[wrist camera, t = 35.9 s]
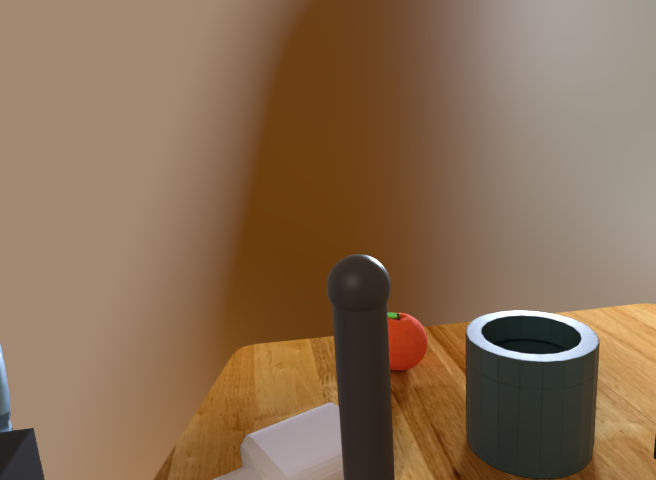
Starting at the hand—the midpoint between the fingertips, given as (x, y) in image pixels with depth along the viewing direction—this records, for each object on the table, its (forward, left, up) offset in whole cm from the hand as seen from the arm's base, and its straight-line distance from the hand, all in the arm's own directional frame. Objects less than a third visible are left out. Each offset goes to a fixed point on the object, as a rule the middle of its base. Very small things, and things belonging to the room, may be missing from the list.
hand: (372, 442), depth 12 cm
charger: (+3, +31, -26) cm, 40 cm away
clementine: (+22, +49, -26) cm, 59 cm away
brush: (+5, +14, -26) cm, 30 cm away
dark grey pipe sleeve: (+27, +30, -26) cm, 48 cm away
